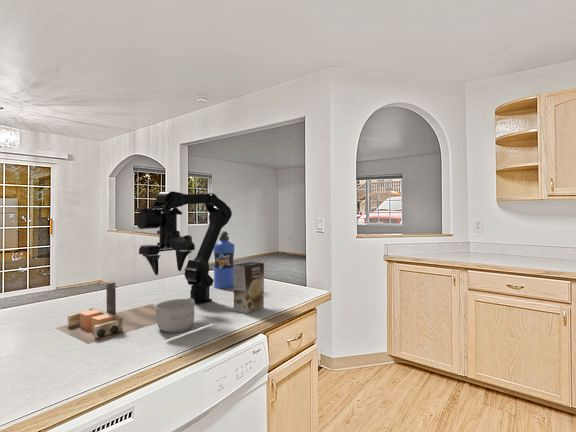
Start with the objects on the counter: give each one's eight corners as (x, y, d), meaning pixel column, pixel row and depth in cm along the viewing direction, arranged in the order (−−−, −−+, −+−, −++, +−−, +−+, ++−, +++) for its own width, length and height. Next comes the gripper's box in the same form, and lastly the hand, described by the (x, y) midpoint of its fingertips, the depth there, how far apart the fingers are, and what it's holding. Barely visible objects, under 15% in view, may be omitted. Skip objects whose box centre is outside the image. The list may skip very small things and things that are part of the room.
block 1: (94, 322, 104) (93, 309, 104) (100, 325, 101) (100, 312, 101) (79, 326, 100) (79, 313, 100) (86, 329, 98) (86, 315, 98)
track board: (151, 305, 124) (151, 303, 124) (187, 315, 113) (187, 313, 113) (55, 330, 99) (55, 328, 99) (88, 346, 88) (88, 343, 88)
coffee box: (247, 314, 114) (246, 266, 114) (233, 310, 118) (233, 264, 118) (264, 307, 122) (264, 262, 121) (250, 304, 125) (250, 261, 125)
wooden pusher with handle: (100, 316, 109) (100, 278, 108) (131, 328, 98) (131, 286, 98) (67, 325, 101) (66, 284, 100) (97, 338, 90) (96, 292, 90)
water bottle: (214, 284, 159) (214, 230, 159) (235, 284, 160) (234, 230, 160) (212, 289, 150) (212, 232, 150) (234, 288, 151) (233, 232, 151)
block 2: (105, 327, 100) (105, 313, 100) (112, 330, 97) (112, 316, 97) (91, 331, 96) (91, 317, 96) (98, 334, 94) (98, 320, 94)
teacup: (172, 339, 92) (172, 310, 92) (147, 332, 98) (146, 304, 97) (210, 324, 104) (209, 298, 104) (185, 318, 109) (185, 294, 109)
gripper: (158, 230, 106) (158, 280, 106) (204, 227, 121) (205, 271, 121) (137, 228, 112) (138, 276, 113) (184, 226, 128) (184, 268, 128)
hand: (168, 272), depth 118 cm, fingers open, 9 cm apart
